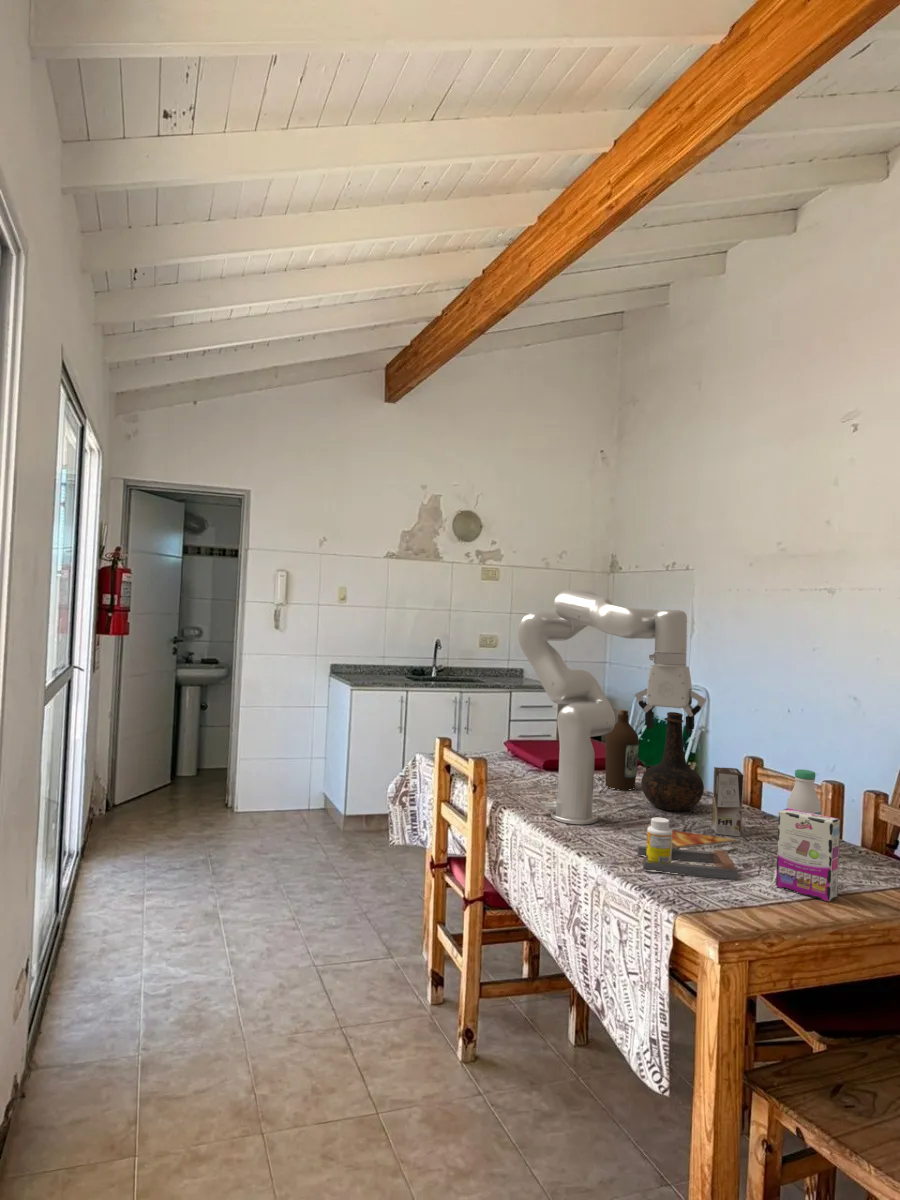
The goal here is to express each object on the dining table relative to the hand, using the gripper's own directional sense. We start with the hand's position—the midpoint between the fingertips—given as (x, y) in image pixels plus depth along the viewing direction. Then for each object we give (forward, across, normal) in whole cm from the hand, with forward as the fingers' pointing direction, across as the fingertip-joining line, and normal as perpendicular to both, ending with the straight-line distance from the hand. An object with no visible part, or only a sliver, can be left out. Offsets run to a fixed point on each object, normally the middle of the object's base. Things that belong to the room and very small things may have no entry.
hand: (669, 730), depth 190 cm
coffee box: (+29, +7, +26) cm, 40 cm away
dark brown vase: (+28, -13, +40) cm, 51 cm away
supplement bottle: (+29, +2, -13) cm, 32 cm away
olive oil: (+27, -34, +53) cm, 68 cm away
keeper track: (+29, +8, -10) cm, 32 cm away
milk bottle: (+30, +26, +21) cm, 45 cm away
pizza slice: (+29, +3, +9) cm, 31 cm away
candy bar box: (+30, +33, -8) cm, 45 cm away
